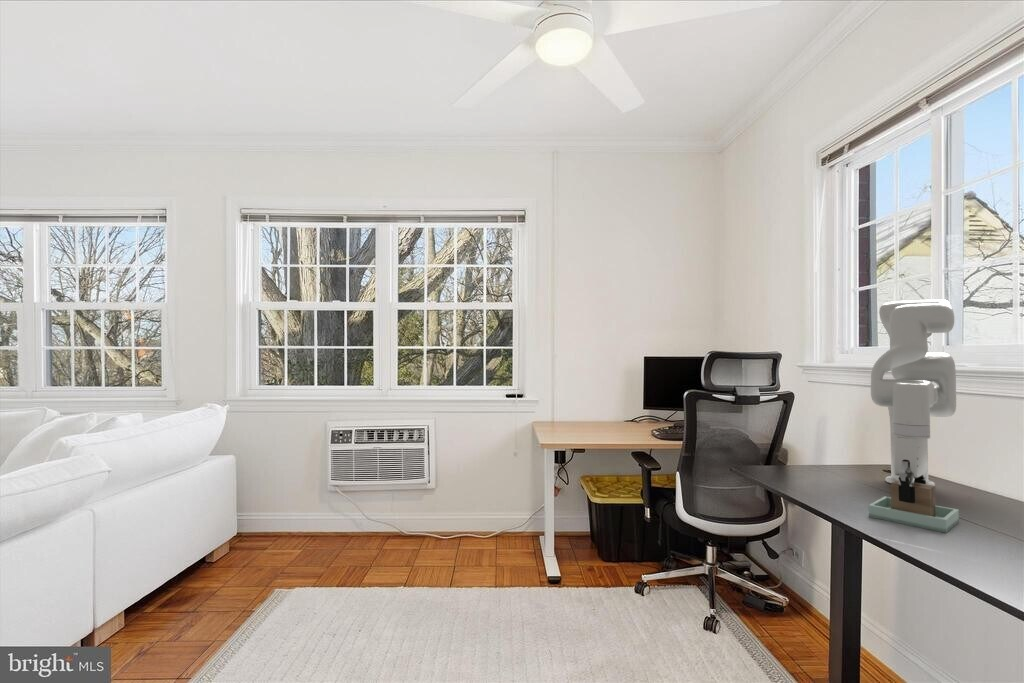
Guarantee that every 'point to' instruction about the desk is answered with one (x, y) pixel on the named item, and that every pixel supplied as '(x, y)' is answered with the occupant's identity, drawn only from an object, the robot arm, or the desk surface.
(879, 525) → the desk surface
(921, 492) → the walnut block
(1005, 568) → the desk surface
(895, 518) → the tray
